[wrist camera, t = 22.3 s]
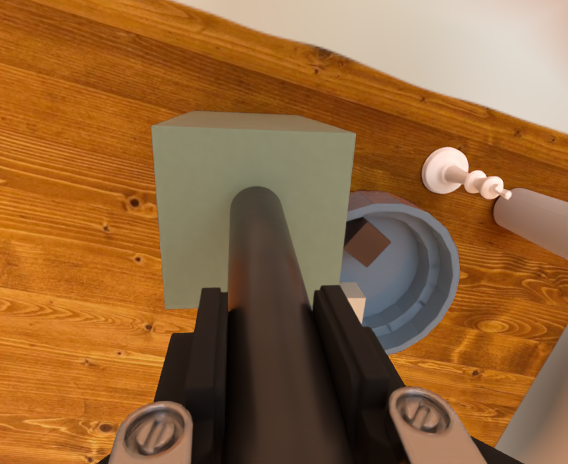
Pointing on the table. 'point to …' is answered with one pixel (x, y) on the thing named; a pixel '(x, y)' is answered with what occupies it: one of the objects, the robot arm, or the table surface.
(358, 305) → the cream block
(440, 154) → the chess piece
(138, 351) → the table surface
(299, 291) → the stirring stick
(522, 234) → the beverage can
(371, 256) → the walnut block
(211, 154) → the stand
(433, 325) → the bowl
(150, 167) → the table surface
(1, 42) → the table surface
